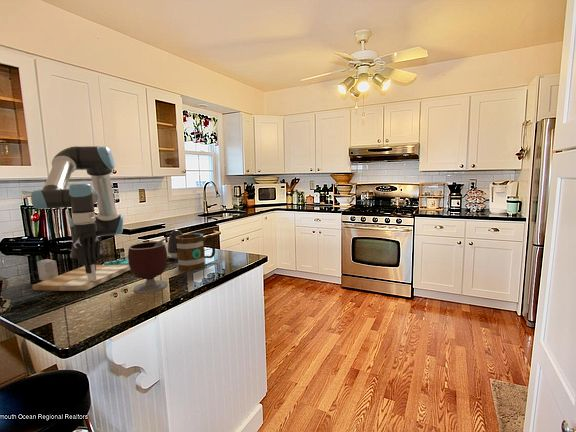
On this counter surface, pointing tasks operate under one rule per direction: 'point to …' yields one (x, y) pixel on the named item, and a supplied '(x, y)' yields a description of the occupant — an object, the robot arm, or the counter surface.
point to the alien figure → (118, 262)
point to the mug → (192, 251)
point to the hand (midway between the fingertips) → (92, 280)
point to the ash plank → (101, 277)
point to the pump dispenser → (173, 243)
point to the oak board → (62, 279)
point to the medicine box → (47, 269)
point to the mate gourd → (148, 264)
